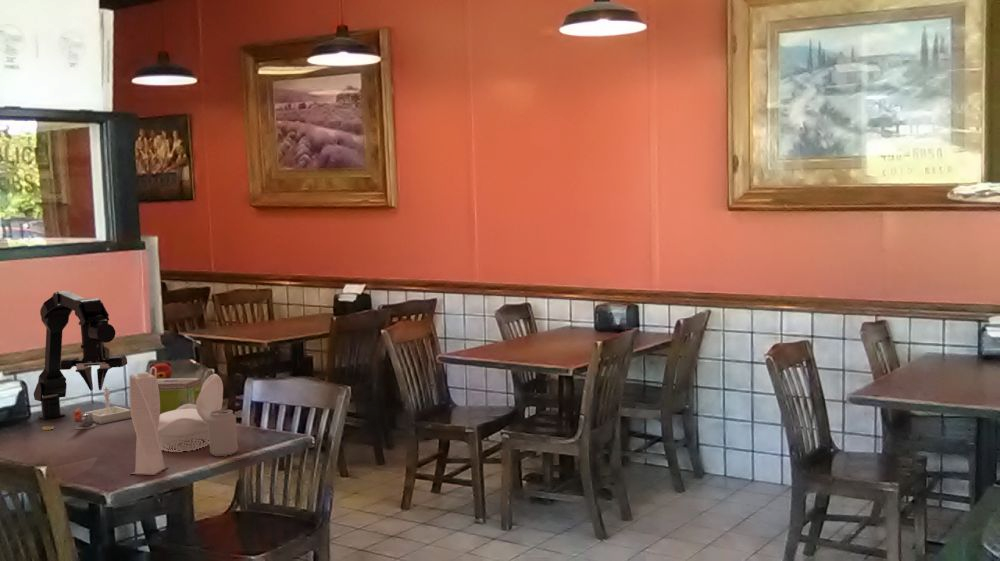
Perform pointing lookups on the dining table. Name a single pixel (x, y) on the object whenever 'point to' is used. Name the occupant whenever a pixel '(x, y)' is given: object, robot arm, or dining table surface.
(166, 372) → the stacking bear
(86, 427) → the crank base
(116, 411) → the tray
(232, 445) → the can
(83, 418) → the crank
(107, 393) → the chess piece
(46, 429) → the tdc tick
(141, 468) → the skyscraper
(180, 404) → the tea box
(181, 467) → the dining table surface
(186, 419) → the chair
